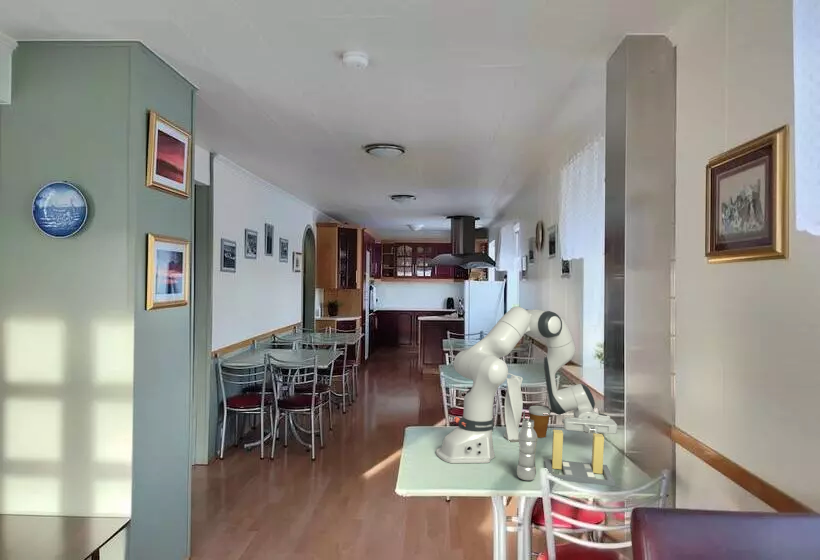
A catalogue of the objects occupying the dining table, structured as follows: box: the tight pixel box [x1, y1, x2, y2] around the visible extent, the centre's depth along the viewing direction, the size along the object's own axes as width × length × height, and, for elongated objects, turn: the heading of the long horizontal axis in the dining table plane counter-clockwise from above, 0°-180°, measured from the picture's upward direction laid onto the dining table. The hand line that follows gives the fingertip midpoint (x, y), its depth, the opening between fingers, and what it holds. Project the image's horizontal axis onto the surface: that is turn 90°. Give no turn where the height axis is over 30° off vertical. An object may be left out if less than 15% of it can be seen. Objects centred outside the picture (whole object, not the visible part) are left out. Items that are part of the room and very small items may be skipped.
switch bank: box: [544, 458, 616, 487], centre depth 188 cm, size 16×22×2 cm
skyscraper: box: [503, 372, 526, 443], centre depth 225 cm, size 8×8×28 cm
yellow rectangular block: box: [551, 429, 564, 470], centre depth 193 cm, size 4×3×13 cm
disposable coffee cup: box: [527, 405, 552, 439], centre depth 231 cm, size 10×10×12 cm
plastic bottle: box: [516, 418, 538, 481], centre depth 181 cm, size 6×7×20 cm
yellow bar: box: [591, 432, 605, 475], centre depth 191 cm, size 4×3×13 cm
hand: (592, 431), depth 206 cm, fingers closed
